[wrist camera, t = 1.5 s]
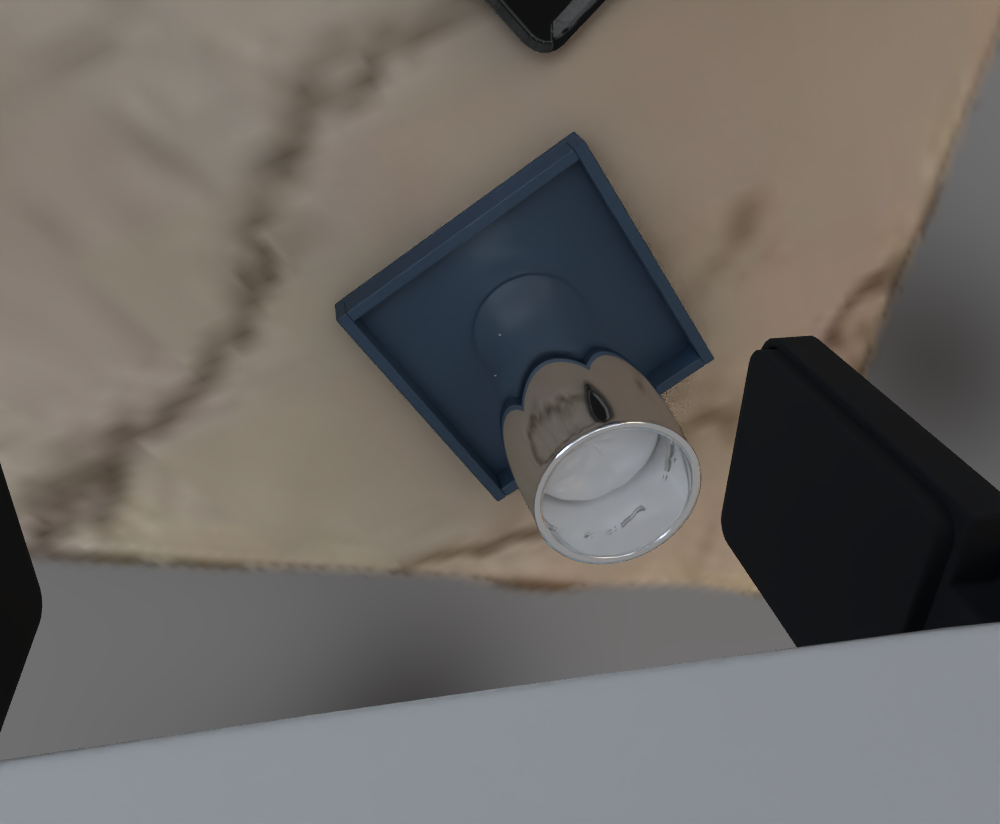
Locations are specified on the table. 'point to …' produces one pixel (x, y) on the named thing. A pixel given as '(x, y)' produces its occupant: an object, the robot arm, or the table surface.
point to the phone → (544, 20)
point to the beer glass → (582, 426)
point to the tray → (502, 257)
